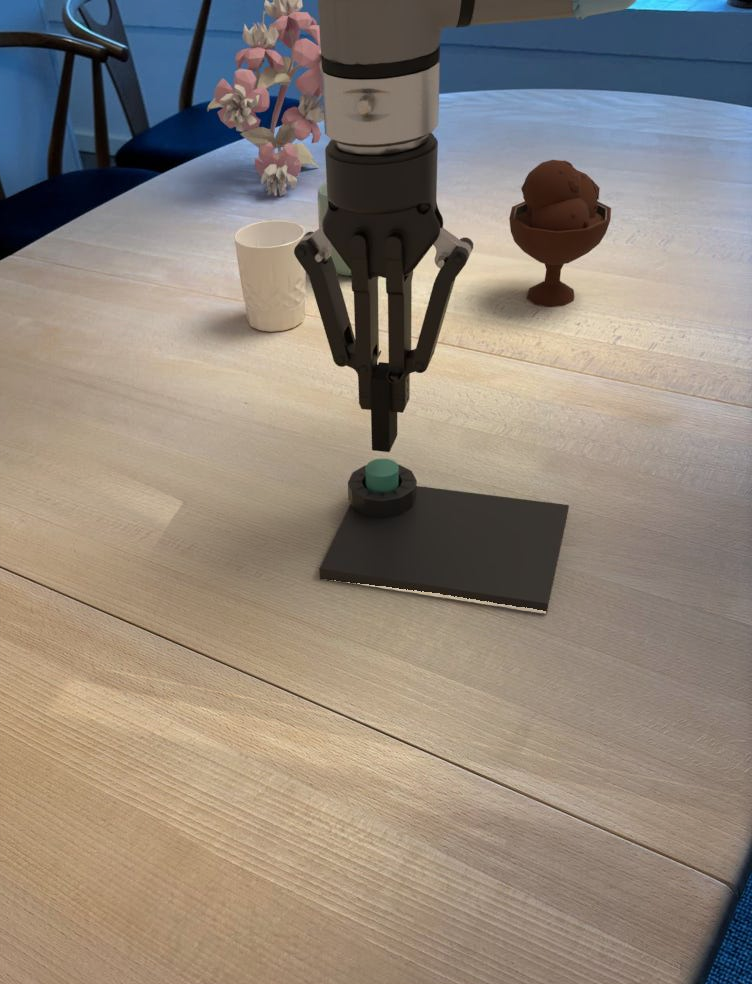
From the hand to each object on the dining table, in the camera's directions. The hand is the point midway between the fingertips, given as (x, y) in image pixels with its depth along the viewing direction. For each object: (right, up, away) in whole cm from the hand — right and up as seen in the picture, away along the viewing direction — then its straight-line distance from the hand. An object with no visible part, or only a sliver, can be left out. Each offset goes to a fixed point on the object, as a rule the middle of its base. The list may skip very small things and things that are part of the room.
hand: (384, 442), depth 81 cm
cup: (+1, +30, +42) cm, 52 cm away
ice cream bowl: (+23, +23, +33) cm, 46 cm away
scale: (+5, -9, 0) cm, 10 cm away
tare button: (0, -3, +3) cm, 4 cm away
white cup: (-9, +21, +34) cm, 41 cm away
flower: (-7, +53, +68) cm, 87 cm away
